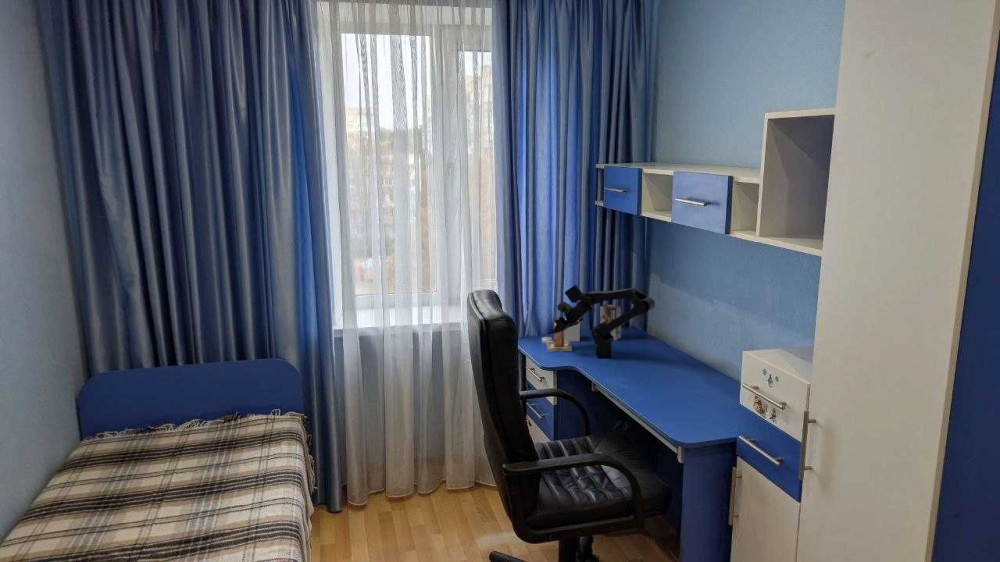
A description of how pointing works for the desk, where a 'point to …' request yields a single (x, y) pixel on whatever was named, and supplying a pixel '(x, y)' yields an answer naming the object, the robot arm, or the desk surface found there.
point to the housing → (572, 333)
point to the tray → (558, 349)
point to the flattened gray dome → (546, 339)
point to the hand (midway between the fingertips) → (557, 330)
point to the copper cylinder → (558, 338)
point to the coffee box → (611, 317)
